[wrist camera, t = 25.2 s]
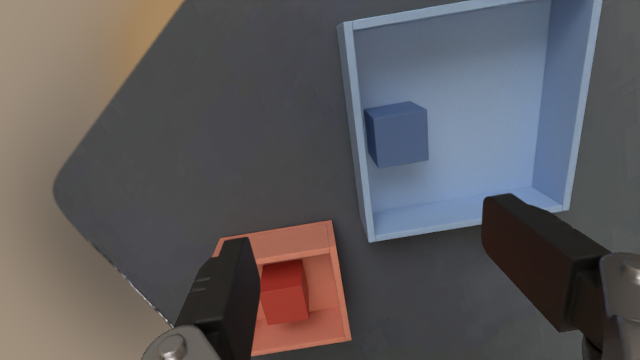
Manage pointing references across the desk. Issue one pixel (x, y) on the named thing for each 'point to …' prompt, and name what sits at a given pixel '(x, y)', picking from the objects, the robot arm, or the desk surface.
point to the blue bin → (470, 107)
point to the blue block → (397, 134)
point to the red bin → (322, 281)
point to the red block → (284, 292)
